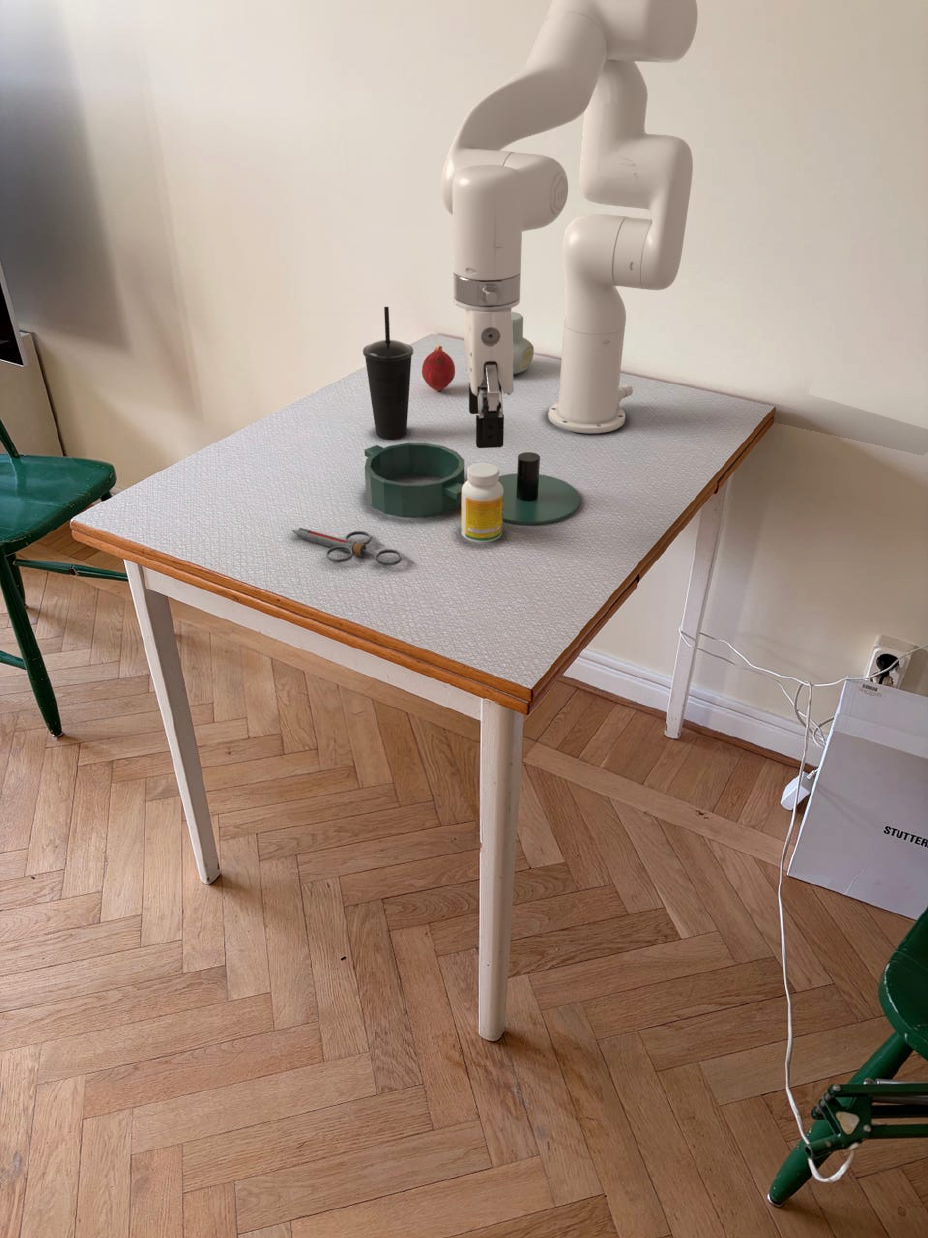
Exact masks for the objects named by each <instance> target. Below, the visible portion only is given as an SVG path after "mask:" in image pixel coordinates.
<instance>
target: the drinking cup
mask: <svg viewBox="0 0 928 1238" xmlns="http://www.w3.org/2000/svg"><path fill="white" fill-rule="evenodd" d="M389 309H390V307H389V306H383V313H384V314H383V315H384V316H383V317H384V335H385V336H384V337H385V339H381V340H377V341H375V342H373V343H370V344H368V345H366V346H364V347H363V348H362V355H363V356H364V359H365V365H366V372H367V379H368V385H369V387H368V388H369V392H370V401H371V406H372V408H371V409H372V414H373V421H374V422H373V423H374V428H375V434H376V437H378V438H379V439H383V440H387V441H388V440H389V441H393V440H399V439H403V438H404V437H405V436H407V430H408V417H409V416H408V414H409V401H410V400H409V399H410V398H409V397H410V386H411V385H410V383H411V371H412V369H411V367H412V357H413V356H414V348H413V346H412V345H410V344H407V343H406V342H402V341H399V340H397V339H391V335H390V334H391V333H390V332H391V331H390V310H389Z"/></svg>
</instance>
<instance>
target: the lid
mask: <svg viewBox="0 0 928 1238" xmlns="http://www.w3.org/2000/svg"><path fill="white" fill-rule="evenodd" d="M540 467H541V456H540V455H539V454H538V453H536V452H532V451H525V452H521V453H519V454H518V456H517V467H516V468H517V470H516V471H517V472H516V473H507V474H502V475H499V479H498V481H499V482H500V483H501V484H502V486H503V491H504V493H503V518H502V523H503V522H504V523H507V524H512V525H519V526H521V525H522V526H540V525H541V526H542V525H547V524H553V523H556V522H560V521H563V520H565V519H567V518H569V517H571V516H572V515H574V514H575V512H577V510H578V509H579V507H580V504H581V503H580V502H581V497H580V494H579V492H578V490H576V488H575V487H574V486H573V485H571V484H569V483H568V482H566V481H564V480H562V479H560V478H557V477H554V476H551V475H546V474H540Z"/></svg>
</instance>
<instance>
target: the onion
mask: <svg viewBox="0 0 928 1238" xmlns="http://www.w3.org/2000/svg"><path fill="white" fill-rule="evenodd" d="M421 367H422V368H421V375H422V378H423V380H424V382H425V383H426V384H427V386H429V387H430V388H432V389H433V390H434V391H435V392H441V391H443V390H444V389H445V388H447V387H448V386H449V385H450V384H451V383H452V382H453V380H454V379H455V375H456V365H455V362H454V359H452V357H451V356H450V355H449V354H448V353H447V352H445V351H443V346H441V345H436V346H435V349H434V351H433V352H431V353H430V354H428V355H427V356H426V357H425V359H424V360H423V362H422V366H421Z"/></svg>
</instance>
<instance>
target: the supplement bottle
mask: <svg viewBox="0 0 928 1238" xmlns="http://www.w3.org/2000/svg"><path fill="white" fill-rule="evenodd" d="M499 476H500V469H499V467H498V466H497V465H495V464H493V463H489V462H477V463H473V464H471V465H469V466H468V467H467V471H466V479H467V480H466V481H464V484H463V486H462V502H461V503H460V505H461V510H460V513H461V515H460V516H461V517H460V518H461V520H460V531H461V535H462V537H464V538H465V539H467V540H468V541H472V542H477V543H489V542H494V541H496V540H498V539H499V538H500V537H501V536H502V535H503V521H502V518H503V493H504V491H503V486H502V484H501V483H500V482H499V481H498V479H499Z"/></svg>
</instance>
